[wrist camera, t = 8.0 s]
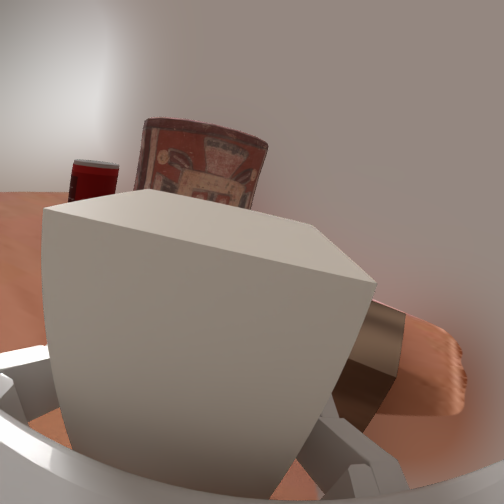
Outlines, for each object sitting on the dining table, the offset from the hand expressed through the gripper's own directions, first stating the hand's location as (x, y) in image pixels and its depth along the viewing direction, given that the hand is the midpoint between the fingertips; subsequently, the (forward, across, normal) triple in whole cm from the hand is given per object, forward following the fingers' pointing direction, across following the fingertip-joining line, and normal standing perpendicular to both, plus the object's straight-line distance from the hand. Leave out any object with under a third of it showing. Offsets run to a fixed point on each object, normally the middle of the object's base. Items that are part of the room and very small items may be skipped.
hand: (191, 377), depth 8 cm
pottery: (+34, +7, +7) cm, 35 cm away
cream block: (-1, 0, +7) cm, 7 cm away
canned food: (+36, +24, +7) cm, 44 cm away
